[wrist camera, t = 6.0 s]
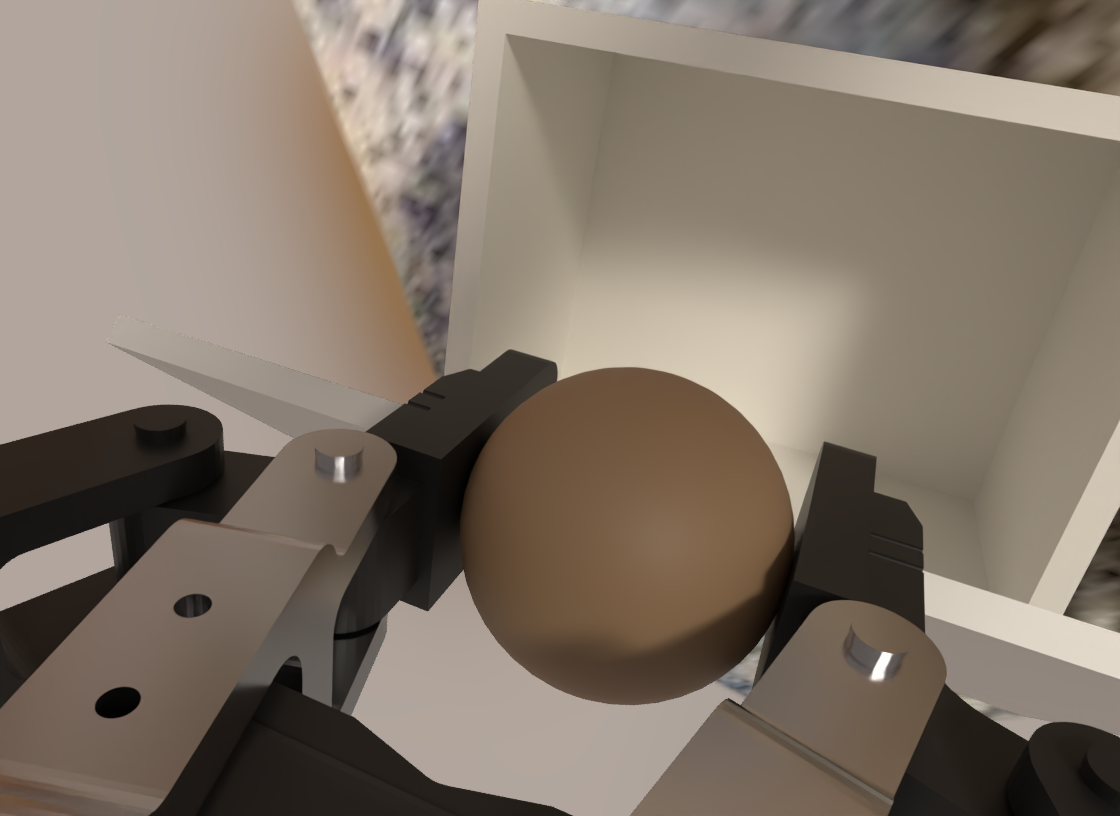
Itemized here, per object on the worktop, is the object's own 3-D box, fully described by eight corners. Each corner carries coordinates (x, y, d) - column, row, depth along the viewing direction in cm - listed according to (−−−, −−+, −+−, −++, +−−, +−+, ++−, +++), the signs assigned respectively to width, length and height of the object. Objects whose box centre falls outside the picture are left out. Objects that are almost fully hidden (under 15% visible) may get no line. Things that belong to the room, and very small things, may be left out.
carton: (602, 13, 36) (479, -8, 25) (1172, 106, 30) (1317, 128, 19) (544, 388, 43) (433, 490, 33) (987, 520, 37) (1021, 694, 27)
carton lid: (-98, 120, 12) (-254, 379, 11) (2237, 735, 6) (2302, 1429, 5) (436, 470, 33) (398, 565, 32) (1033, 672, 27) (1006, 795, 26)
